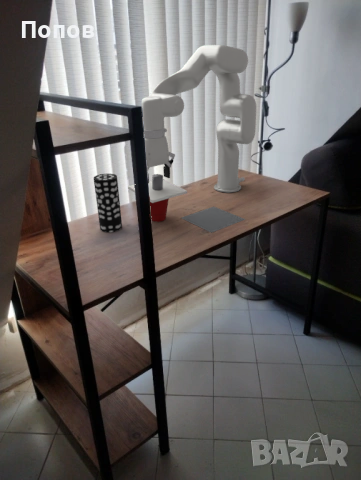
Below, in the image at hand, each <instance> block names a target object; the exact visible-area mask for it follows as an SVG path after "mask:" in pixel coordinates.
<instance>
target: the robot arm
mask: <svg viewBox="0 0 361 480" xmlns="http://www.w3.org/2000/svg"><path fill="white" fill-rule="evenodd" d="M248 66H249V56H248V54H247V52H246V51H245V50H244V49H241V48H238V47H234V46H229V45H225V44H205V45H201V46H199V47H198V48H197V49H196V50H195V51H194V52H193V53H192V55H191V56H190V57H189V58H188V60H187V61H186V62H185V63H184V65H183V66H182V68H180V70H178V71H176V72H174V73H173V74H171V75H169V76H168V77H166V78H164V79H163V80H161V81H160V82H159V83H158V84H157V85H156V86H155V88H153V90H152V91H151V93H150V94H149V96H146V97H144V98H142V99H141V109H142V108H143V117H142V122H143V121H144V132H143V135H144V134H145V147H146V160H147V172H149V170H150V168H154V167H157V166H161V165H163V178H167V179H171V168H172V164H174V160H175V157H176V154H175V153H173V152H172V151H169V145H168V141H167V140H168V139H167V136H165V135H166V133H167V131H168V130H167V128H165V118H176V117H178V116H180V115H181V114H182V113H183V111H184V109H185V102H184V100H183V99H182V97H181V96H179V95H178V94H181V93H184V92H185V93H186V92H189V91H191V90H193V89H196V88H197V87H198V86H199V85H200V84H201V83H202V81H203V80H204V79H205V77H206V76H207V75H208V74H209V72H210V71H212V72H213V73H214V74H215V76H216V77H217V79H218V83H219V112H220V114H221V115H222V116H223V117H229V118H236V119H228V118H226V119H222V120H220V121H219V122H218V124H217V125H216V130H215V131H216V132H215V134H216V138H217V139H216V140H217V147H218V148H217V151H218V152H217V183H215V184H214V186H213V189H214V190H215V191H217V192H220V193H227V194H228V193H236V192H239V191H241V189H242V186H241V185H240V183H242V182H245V177H244V176H242V177H239V167H240V166H239V164H240V149H239V146H238V144H241V145H250V144H251V143H252V142H253V141H254V139H255V136H256V129H257V128H256V125H257V103H256V99H255V98H254V96H252V95H251V94H247V93H246V94H245V93H241V80H240V77H239V75H238V74H240V73H243V72H244V71H246V69H247V67H248ZM149 175H150V174H149V173H148V184H149V181H150V177H149Z"/></svg>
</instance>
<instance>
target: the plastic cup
mask: <svg viewBox="0 0 361 480" xmlns="http://www.w3.org/2000/svg"><path fill="white" fill-rule="evenodd" d="M169 200H170V198H168V199H165V200H161V201H158V202H154V203H152V202H150V206H151V216H152V220H151V221H153V222H158V223H159V222H164V221H165V220H166V219H167V212H168V205H169Z"/></svg>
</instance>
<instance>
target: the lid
mask: <svg viewBox="0 0 361 480" xmlns="http://www.w3.org/2000/svg"><path fill="white" fill-rule="evenodd" d="M151 176H152V178H151V180H149V195H150V202H152V203H154V202H158V201H161V200H165V199H168V198H169V199H171V198H175V197H178V196H182V195H186V194H188V190H186V189H184V188H183V187H180V186H178V185H177V184H174V183H172V182H171V181H169V180H166V179H165V178H164V174H159V173H157V174H156V173H155V174H152V175H151ZM134 185H135V184H132V185H128V187H127V189H128V190H130V191H131V192H133V193H135V188H134Z"/></svg>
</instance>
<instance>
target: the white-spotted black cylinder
mask: <svg viewBox="0 0 361 480" xmlns="http://www.w3.org/2000/svg"><path fill="white" fill-rule="evenodd" d="M93 185H94V191H95V192H94V193H95V200H96V207H97V209H96V210H97V216H98V221H99V222H98V224H99V230H100V231H101V232H103V233H116V232H118V231H120V230H122V228H123V222H122V212H121V203H120V202H121V201H120V193H119V183H118V175H117V174H115V173H101V174H97V175H94V176H93ZM115 231H116V232H115Z"/></svg>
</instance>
